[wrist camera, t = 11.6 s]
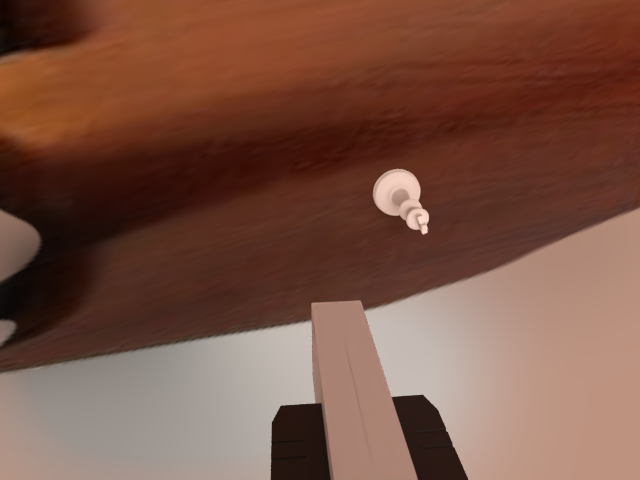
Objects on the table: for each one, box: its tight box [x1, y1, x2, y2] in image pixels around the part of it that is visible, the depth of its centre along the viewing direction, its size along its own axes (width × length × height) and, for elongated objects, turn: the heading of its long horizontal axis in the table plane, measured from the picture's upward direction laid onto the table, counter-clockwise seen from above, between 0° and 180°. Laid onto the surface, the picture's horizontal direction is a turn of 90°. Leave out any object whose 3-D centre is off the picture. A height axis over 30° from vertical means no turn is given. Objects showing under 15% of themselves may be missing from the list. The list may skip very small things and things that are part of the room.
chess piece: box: [373, 169, 429, 234], centre depth 42 cm, size 5×5×10 cm
